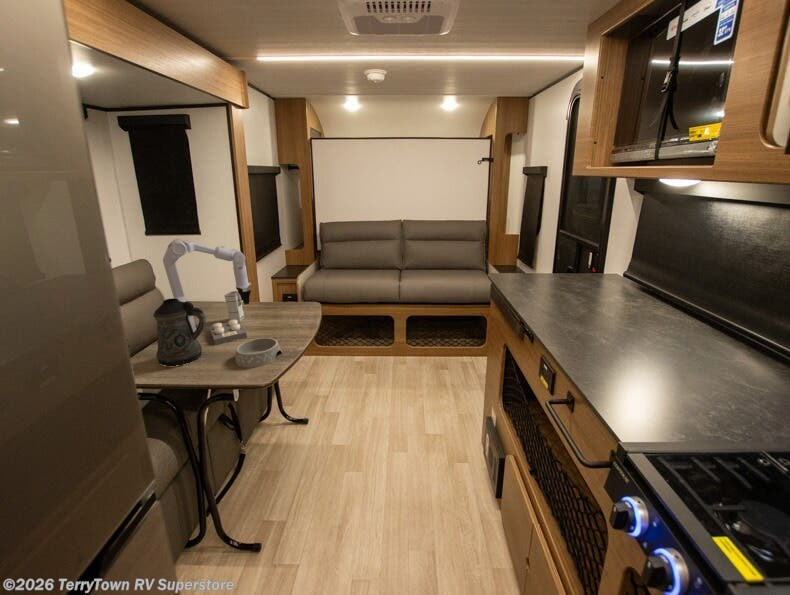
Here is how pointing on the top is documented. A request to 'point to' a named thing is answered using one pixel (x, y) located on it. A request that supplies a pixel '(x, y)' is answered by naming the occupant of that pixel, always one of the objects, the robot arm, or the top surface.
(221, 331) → the button front left
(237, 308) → the syrup box
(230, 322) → the button back right
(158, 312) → the beer stein
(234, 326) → the button front right
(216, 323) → the button back left
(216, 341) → the button board
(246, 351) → the dog bowl
